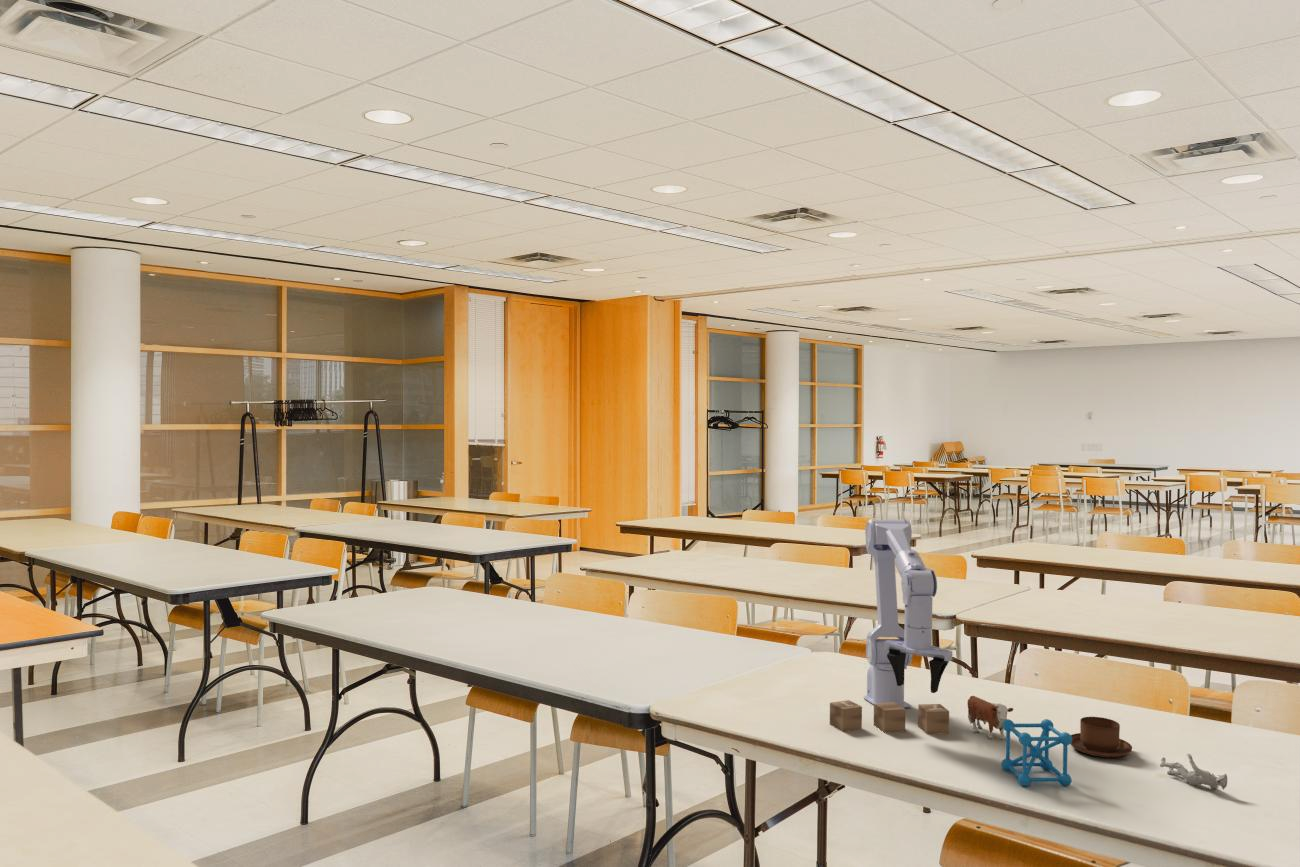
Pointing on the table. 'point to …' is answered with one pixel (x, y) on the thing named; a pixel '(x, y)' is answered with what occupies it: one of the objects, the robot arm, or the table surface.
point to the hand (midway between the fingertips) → (917, 688)
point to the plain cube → (889, 717)
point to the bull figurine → (987, 715)
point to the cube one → (845, 715)
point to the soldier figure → (1195, 774)
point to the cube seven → (933, 718)
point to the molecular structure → (1036, 752)
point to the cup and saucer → (1100, 738)
